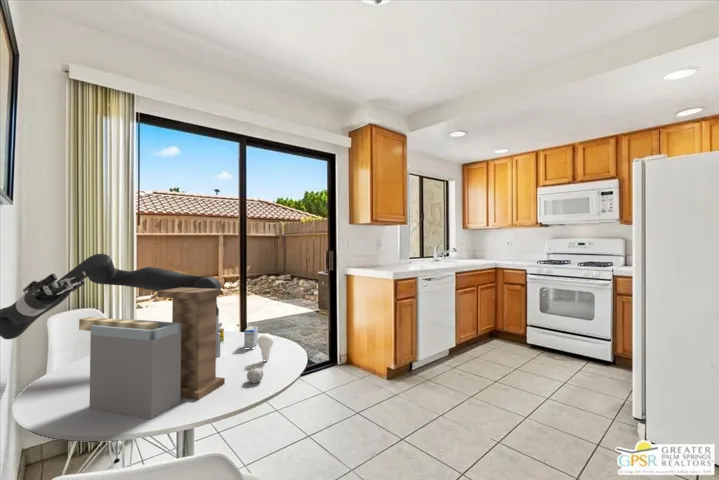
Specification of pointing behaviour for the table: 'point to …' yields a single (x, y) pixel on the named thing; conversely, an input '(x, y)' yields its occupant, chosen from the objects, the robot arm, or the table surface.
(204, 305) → the post
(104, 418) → the table surface
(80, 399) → the table surface
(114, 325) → the tan wooden bar
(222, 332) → the supplement bottle
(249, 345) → the medicine box
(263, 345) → the lightbulb
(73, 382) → the table surface
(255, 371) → the garlic
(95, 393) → the tray stand
